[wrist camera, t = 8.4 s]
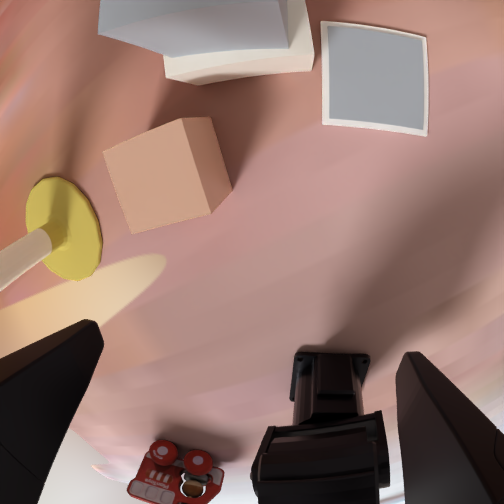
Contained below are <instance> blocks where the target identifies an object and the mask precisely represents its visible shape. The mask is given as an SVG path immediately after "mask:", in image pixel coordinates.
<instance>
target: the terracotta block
mask: <svg viewBox="0 0 504 504" xmlns="http://www.w3.org/2000/svg"><path fill="white" fill-rule="evenodd" d="M103 156H104V159H105V162H106V165H107V168H108V171H109V174H110V177H111V180H112V183H113V186H114V188H115V191H116V194H117V197H118V200H119V202H120V205H121V208H122V211H123V213H124V216H125V218H126V221H127V224H128V226H129V229H130V231H131V234H136V233H140V232H143V231H147V230H151V229H154V228H158V227H162V226H166V225H169V224H173V223H177V222H181V221H185V220H189V219H193V218H197V217H201V216H205V215H209V214H212V213H213V211H214V210H215V209H216V208H217V207H218V206H219V205H220V204H221V203H222V202H223V200H224V199H225V198H226V197H227V196H228V195H229V194H230V193H231V192H232V191H233V190H232V187H231V183H230V180H229V177H228V173H227V170H226V167H225V163H224V160H223V157H222V153H221V150H220V147H219V143H218V140H217V137H216V134H215V130H214V127H213V124H212V120H211V117H191V118H179V119H177V120H174V121H172V122H169V123H166V124H164V125H161V126H159V127H156V128H154V129H152V130H149V131H147V132H144V133H142V134H140V135H138V136H135V137H133V138H131V139H129V140H126V141H124V142H122V143H120V144H118V145H115V146H113V147H111V148H109V149H107V150H105V151H103Z"/></svg>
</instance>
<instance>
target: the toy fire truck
mask: <svg viewBox="0 0 504 504" xmlns="http://www.w3.org/2000/svg"><path fill="white" fill-rule="evenodd" d="M183 473H185V475H184V479H185V480H186V482H185V483H184V484H183V486H182V490H183V493H184V494H185V495H186V496H187V497H186V496H185V495H183V494H182V493H181V491H180V486H181V484H182V483H183V480H182V477H181V475H182V474H183ZM223 478H224V471H223V470H222V469H221V468H218V467H213V462H212V458H211V456H210V455H209V454H208V453H207V452H205V451H202V450H192V451H190V452H188V453H187V454H186V455H185V457H184V460H183V459H180V458H178V451H177V448H176V446H175V445H174V444H173V443H172V442H170V441H167V440H158V441H156V442H154V443H153V444H152V445H151V446H150V449H149V451H148V452H147V453H146V454H145V456H144V459H143V461H142V463H141V465H140V468H139V470H138V472H137V475H136V477H135V478H134V479H133V480H131V481H130V483H129V485H128V488H127V492H128V494H129V495H130V496H131V497H134V498H136V499H139V500H142V501H145V502H148V503H151V504H208V503H209V502H210V501H211V500H212V499H213V498H214V497H215V496H216V495H217V494H218V493H219V492H220V490H221V487H222V483H223ZM203 486H206V491H205V493H204V494H203V495H202V493H203ZM201 495H202V496H201Z"/></svg>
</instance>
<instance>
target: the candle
mask: <svg viewBox="0 0 504 504" xmlns="http://www.w3.org/2000/svg"><path fill="white" fill-rule="evenodd" d="M26 225H27V230H28V234H27V235H25V236H24V237H22V238H20V239H19V240H17V241H16V242H14V243H12V244H11V245H9V246H8V247H6V248H4V249H3V250H1V251H0V291H1V290H3V289H4V288H5V287H6V286H8V285H9V284H10V283H12V282H13V281H14V280H15V279H17V278H18V277H19V276H21V275H22V274H23V273H25V272H26V271H27V270H29V269H30V268H31V267H33V266H34V265H35V264H37V263H38V262H40V261H41V260H42V261H43V262H44V264H45V265H46V266H47V267H48V268H49V269H50V270H51V271H52V272H54V273H55V274H57V275H59V276H60V277H62V278H63V279H68V280H74V281H80V280H82V279H85V278H87V277H89V276H91V275H92V274H93V273H94V271H95V269H96V268H97V266H98V265H99V263H100V260H101V252H102V245H103V242H102V237H101V232H100V227H99V221H98V219H97V217H96V215H95V213H94V211H93V209H92V207H91V205H90V202H89V200H88V199H87V198H86V197H85V196H84V195H83V193H82V192H81V191H80V190H79V189H78V188H77V187H76V186H75V185H74V184H73V183H71V182H69V181H67V180H64V179H62V178H60V177H51V178H44V179H42V180H41V181H40V182H39V183H38V184H37V185H36V186H35V187H33V188H32V190H31V192H30V195H29V198H28V200H27V203H26Z"/></svg>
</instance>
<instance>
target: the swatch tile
mask: <svg viewBox="0 0 504 504" xmlns="http://www.w3.org/2000/svg"><path fill="white" fill-rule="evenodd" d="M320 25H321V51H322V125H336V126H348V127H359V128H368V129H377V130H385V131H393V132H400V133H406V134H413V135H419V136H425V137H427V132H428V59H427V44H426V37H423V36H419V35H415V34H410V33H406V32H401V31H396V30H391V29H385V28H380V27H373V26H367V25H359V24H351V23H342V22H330V21H320Z"/></svg>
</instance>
